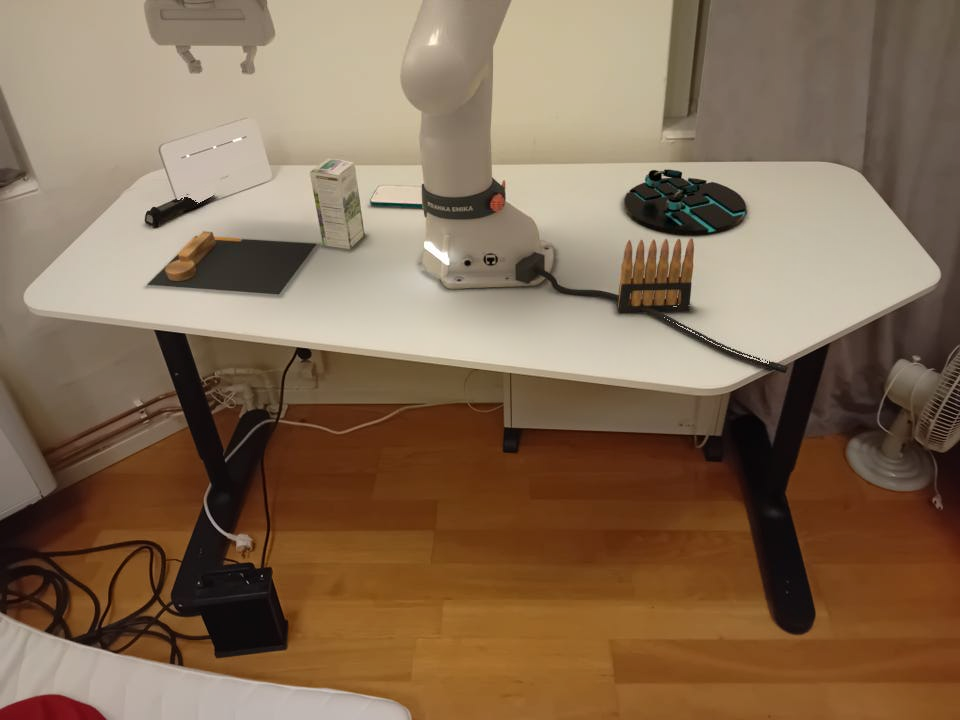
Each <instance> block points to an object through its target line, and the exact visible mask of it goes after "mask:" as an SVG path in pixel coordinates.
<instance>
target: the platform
mask: <svg viewBox="0 0 960 720" xmlns="http://www.w3.org/2000/svg"><path fill="white" fill-rule="evenodd" d="M644 181H645V182H642V183H640V184H637V185H635V186H634V187H632V188H631V189H630V190H629V192H626V195H625V196H624V199H623V200H624V202H623V209H624V211H625V213H626V215H627V217H629V218H630V219H631V220H632V221H633V222H635V223H636V224H638V225H640V226H642V227H644V228H647V229H649V230H652V231H656V232H657V233H658V232H659V233H663V234H669V235H675V236H694V237H695V236H708V235H713V234H718V233H722V232H725V231H727V230H730V229H732V228H735V227H736V226H738V225H739V223H741V222H742V220H743V219H744V218H745V214H746V208H747V204H746V202H745V199H744V198H743V197H742V196H741V194H739V193H738V192H736V191H735V190H734V189H731V188H730V187H728V186H725V185H723V184H721V183H719V182H714V181H710V182H708V181H707V180H706V179H702V178H701V179H700V178H693V177H688V178H687V180H686V179H685V178H683V171H680V170H676V169H666V168H665V169H663V170H656V169H651V170H650V171H649V172H648V174H646V175H645V177H644Z"/></svg>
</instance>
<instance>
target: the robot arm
mask: <svg viewBox="0 0 960 720" xmlns="http://www.w3.org/2000/svg"><path fill="white" fill-rule="evenodd" d="M511 3H512V0H422V1H421V5H420V7H419V10H418V13H417V15H416V18H415V21H414V24H413V27H412V30H411V32H410V35H409V38H408V41H407V44H406V47H405V51H404V53H403V57H402V61H401V66H400V74H399V75H400V76H399V78H400V79H399V81H400V86H401V89H402V92H403V94H404V95H405V98H406V100H407V101H408V102H409V103H410V104H411V105H412V106H413V107H414V108H415V109H416V110H418V111H419V112H420V113H421V114H420V116H421V117H420V126H419V127H420V128H419V135H418V138H419V149H420V161H421V170H422V171H421V172H422V179H423V180H422V181H423V183H422V184H421V186H422V193H421V196H422V207H423V208H422V210H423V216H424V218H425V239H424V246H423V247H424V249H423V253H422V258H421V264H422V268H423V269H424V270H425V271H426V272H427V273H428V274H430V275H432V276H433V277H436V278H438V279H439V281H440V282H441V283H442V284H443V286H444V287H445V288H446V289H450V290H451V289H453V290H454V289H479V288H481V289H482V288H508V287H531V286H537V285H539V284H541V283H543V281H545V280H547V281H549V282H550V284H551V286H552V288H553V289H554V290H555V291H557V292H559V293H561V294H564V295H570V296H580V297H600V298H603V299H608V300H610V301H614V302H617V300H618V294H616V293H614V292H613V293H612V292H608V291H605V290H600V289H573V288H567V287H565V286H563V285H561V284H559V283H558V280H557V278H556V277H555V276H554V275H552V274H551V272H552V269H553V266H554V262H555V261H554V260H555V259H554V258H555V254H554V249H553V246H552V245H551V243H550V242H549V241H548V240H546V239H541V237H540V232H539V231H540V230H539V228H538V225H537V223H536V221H535V220H534V218H533V217H531V216H529V215H527V214H526V213H524V212H523V211H521V210H520V209H518V208H517V207H516V206H514V205H512V204H511V203H510V202H508V201H507V200H506V196H507V195H506V180H505V179H504V180H503V181H502V183H501V184H500V183H499V182H498V181H497V180H496V179H495V178H494V177H493V160H492V159H493V157H492V131H491V130H492V117H493V116H492V115H493V114H492V112H493V91H494V90H493V88H494V87H493V86H494V46H495V44H496V41H497V39H498V36H499V33H500V30H501V28H502V26H503V23H504V20H505V18H506V15H507V13H508V10H509V8H510V5H511ZM143 12H144V17H145V21H146V25H147V29H148V32H149V36H150V38H151V40H152V41H154V43H155V44H156V45H158V46H175V50H176V52H177V54H178V55H179V56H180V58H181V59H182V60H183V61H184V62H185V63H186V65H187V69H188V72H189V74H192V75H193V74H200V73H202V72H203V66H202V61H201V60H200V59H196V57H194V55H193V54H192V52H191V51H190V50H191V49H192V47H195V46H197V47H200V46H201V47H207V46H208V47H211V46H212V47H219V46H220V47H241V49H242V52H243V54H246V55H245V60H244V61H242V62H240V64H239V65H240V69H241V73H242V75H254V74H255V72H256V67H255V63H254V61H255V58H256V54H257V52H258V47H266V46H268V45H270V44H271V43H272V42H273V41H274V39H275V37H276V29H275V26H274V22H273V19H272V16H271V12H270V10H269V7H268V0H144V2H143ZM629 306H630V305H629ZM640 306H645V305H643V304H641V305H640ZM641 310H642V311H643V312H646V313H645V314H648V315H649V316H652V317H654V318H656V319H658V320H660V321H661V322H664V323H665V324H668V325H669V326H671V327H673V328H675V329H677V330H678V331H680V332H683V333H684V334H687V335H688V336H690V337H692V338H694V339H696V340H698V341H700V342H701V343H703V344H705V345H707V346H710V347H711V348H713V349H715V350H718V351H720V352H722V353H724V354H727V355H728V356H730V357H734V358H736V359H738V360H740V361H741V360H742V361H745V362H747V363H750V364H754V365H756V366H760V367H763V368H767V369H771V370H774V371H776V372H780V373H783V374H786V373H787V371H788V369H789V366H788V365H785V364H782V363H779V362H775V361H772V362H770V361H771V360H769V364H767V363H768V361H767V363H763V362H760V361H761V360H760V358H761V357H758V356H755V355H752V354H749V353H746V352H743V351H741V350H738V349H735V348H733V349H731V348H732V347H730V346H728V345H726V346H725V344H723V343H721V342H719V341H717V340H715V339H713V338H711V337H709V336H707V335H705V334H704V333H701V332H700V331H698V330H696V329H694V328H692V327H690V328H689V326H688V325H686V326H685V324H684V323H682V322H680V321H678V320H676V319H674V318H672V317H671V316H669V315H667V314H666V313H664V312H659V311H657V310H655V309H653V308H651V307H647V306H645V307H642V308H641ZM664 317H665V318H664ZM667 319H668V320H667ZM669 320H670V321H669ZM673 322H674V323H673ZM679 322H680V323H679ZM676 323H677V324H678V325H680V326H683V327H684V328H686V329H687V328H688V329H689V330H692V332H695V334H694V333H692V332H690V331H688V330H686V329H684V328H682V327H680V326H678V325H677V324H676ZM681 323H682V324H681ZM687 326H688V327H687ZM691 328H692V329H691ZM693 329H694V330H693ZM696 334H698V335H699V336H698V335H696ZM700 336H703V337H704V338H706V339H707V340H709V341H712V342H713V343H715V344H717V345H720V346H721V345H722V346H721V347H720V346H717V345H715V344H713V343H711V342H709V341H707V340H705V339H704V338H702V337H700ZM708 337H709V338H708ZM716 341H717V342H716ZM718 342H719V343H718ZM727 346H728V347H727ZM722 347H725V348H727V349H730V350H732V351H735V352H737V353H739V354H742V355H743V354H744V355H747V356H749V357H752V356H753V358H756V359H758V360H760V361H757V360H754V359H750V358H747V357H744V356H742V355H739V354H736V353H734V352H731V351H729V350H726V349H724V348H722ZM737 350H738V351H737ZM742 352H743V353H742ZM745 353H746V354H745ZM748 354H749V355H748ZM751 355H752V356H751ZM754 356H755V357H754ZM757 357H758V358H757ZM763 359H764V358H762V360H763ZM766 360H767V359H765V361H766ZM779 366H780V367H779Z"/></svg>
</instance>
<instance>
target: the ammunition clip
mask: <svg viewBox="0 0 960 720" xmlns="http://www.w3.org/2000/svg"><path fill="white" fill-rule="evenodd" d="M657 253H658V249H657V242H656V239H655V238H654V239H652V241H651V242H650V244H649V248H648V253H647V259H646V262H645V242H644V241H643V239H640V241H639V242H638V244H637V247H636V252H635V258H634V263H633V244H632V241H631V240H630V239H628V240H627V241H626V244H625V247H624V251H623V257H622V259H623V260H622V264H621V269H620V279H619V285H618V292H617V293H618V294H617V295H618V300H617V301H616V309H617V313H618V314H647V313H646V312H643V311H642V310H641V308H642V307H645V306H647V307H651V308H653V309H655V310H657V311H659V312H661V313H688V312H690V306H688V305H691V294H692V279H693V272H694V255H695V242H694V239H693V238H692V237H691V238H689V240H688V241H687V245H686V248H685V253H684V257H683V261H682V241H681V239H680V238H677V240H676V241H675V243H674V246H673V250H672V256H671V260H670V263H669V258H670V257H669V256H670V255H669V254H670V245H669V240H668V239H667V238H665V239H664V241H663V242H662V244H661V249H660V252H659V253H660V254H659V259H658V262H657ZM641 304H643V305H645V306H640V305H641ZM678 304H679V305H678ZM629 305H630V306H629ZM673 306H677V307H673Z"/></svg>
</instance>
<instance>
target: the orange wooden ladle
mask: <svg viewBox="0 0 960 720" xmlns="http://www.w3.org/2000/svg"><path fill="white" fill-rule="evenodd" d="M197 236H198V237H197V238H196V239H195V240H194V241H193V242H192V243H191V244H190V245H189V246H188V247H187V248H186V249H185V250H184V251H183V252H182V253H181V254H180V255H179V256H178V257H179V260H177V261H174V262H171V261H170V262H171V263H170V262H169V263H170V264H169V263H167V264H166V265H165V267H166V268H165V267H164V268H165V271H166V274H167V277H168V279H169V280H171V281H184V280H187V279H190V278H191V277H193V276H194V275H195V274H196V272H197V270H196V267H195V266H196V265H197V263H198V262H199V261H200V260H201V259H202V258H203V257H204V256H205V255H206V254H207V253H208V252H209V251H210V250H211V249H212V248H213V247H214V246H215V245H216V242H215V239H214V237H215V235H214V232H213V231H208V230H207V231H205V230H203V231H202V232H201V233H200V234H199V235H197Z"/></svg>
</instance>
